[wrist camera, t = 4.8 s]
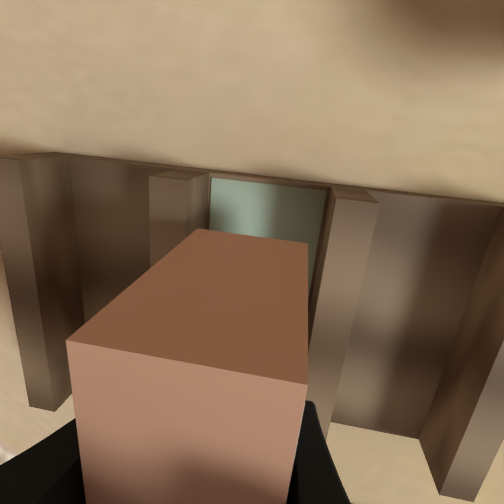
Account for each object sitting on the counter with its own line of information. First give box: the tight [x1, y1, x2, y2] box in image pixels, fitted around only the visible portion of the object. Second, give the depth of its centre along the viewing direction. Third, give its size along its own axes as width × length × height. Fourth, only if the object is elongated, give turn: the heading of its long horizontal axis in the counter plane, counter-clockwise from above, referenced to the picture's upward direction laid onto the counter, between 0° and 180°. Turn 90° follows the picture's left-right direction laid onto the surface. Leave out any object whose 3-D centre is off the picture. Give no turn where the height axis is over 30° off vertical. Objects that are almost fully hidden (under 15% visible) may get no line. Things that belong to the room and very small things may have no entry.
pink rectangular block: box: [66, 228, 308, 504], centre depth 10 cm, size 4×10×7 cm, turn 175°
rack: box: [0, 152, 504, 502], centre depth 16 cm, size 13×22×4 cm, turn 85°
